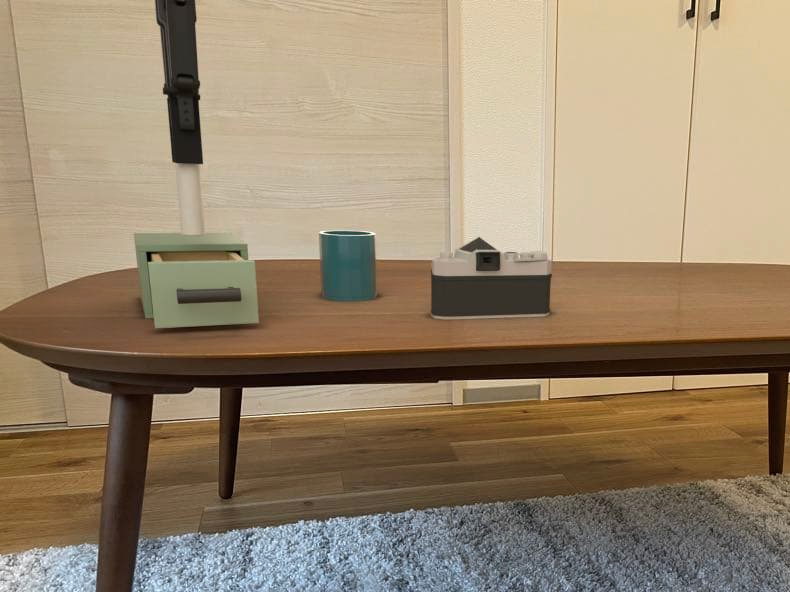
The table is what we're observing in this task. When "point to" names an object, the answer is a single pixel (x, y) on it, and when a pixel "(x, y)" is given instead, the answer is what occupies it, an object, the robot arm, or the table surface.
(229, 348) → the table surface
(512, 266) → the camera
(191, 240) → the cabinet
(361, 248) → the pen cup
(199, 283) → the drawer
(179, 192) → the marker
